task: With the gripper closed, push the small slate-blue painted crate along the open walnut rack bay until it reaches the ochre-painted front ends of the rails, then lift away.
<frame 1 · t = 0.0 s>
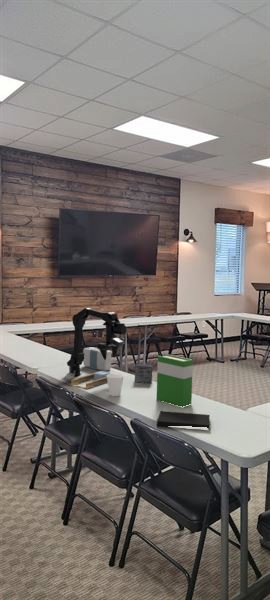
hand: (109, 358, 271), 15 cm above the table, fingers open, 9 cm apart
stereo radio cassette player: (97, 368, 308), on the table
green cereal box: (173, 402, 236), on the table
cup: (114, 395, 246), on the table
black book: (183, 424, 205), on the table
rack bay: (92, 382, 271), on the table
small box: (143, 382, 275), on the table
winch drum: (70, 382, 270), on the table
crate: (101, 379, 278), on the table
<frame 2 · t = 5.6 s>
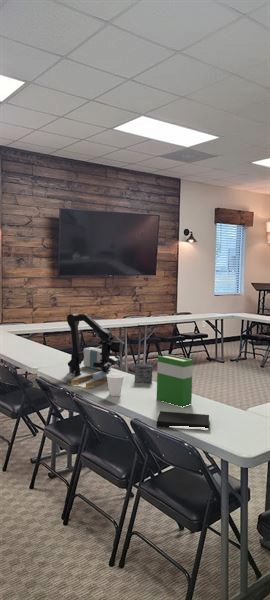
hand: (105, 375, 281), 2 cm above the table, fingers closed
crate: (100, 380, 277), on the table, touching gripper
everything else where it was.
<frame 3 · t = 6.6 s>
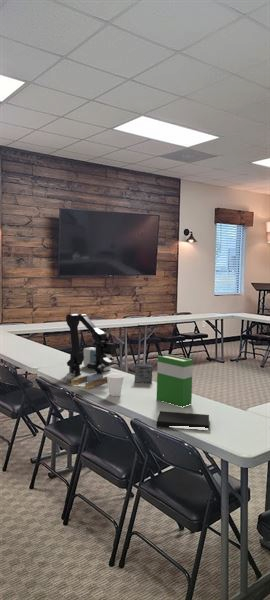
hand: (99, 377, 276), 2 cm above the table, fingers closed
crate: (94, 382, 272), on the table, touching gripper
everything else where it was.
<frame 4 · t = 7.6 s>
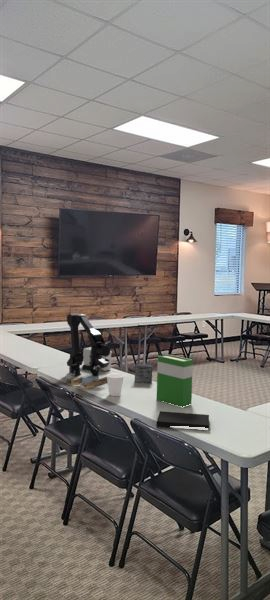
hand: (95, 379, 273), 2 cm above the table, fingers closed
crate: (90, 384, 268), on the table, touching gripper
everything else where it was.
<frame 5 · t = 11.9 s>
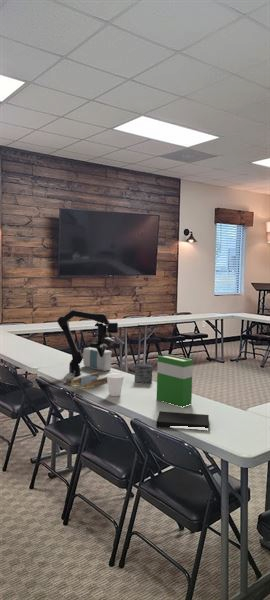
hand: (101, 357, 288), 12 cm above the table, fingers closed
crate: (89, 384, 268), on the table
everything else where it was.
at the end: crate inside the target area (2.6 cm from its centre), on the table; crate moved 12.7 cm from its start; crate tilted 0° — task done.
